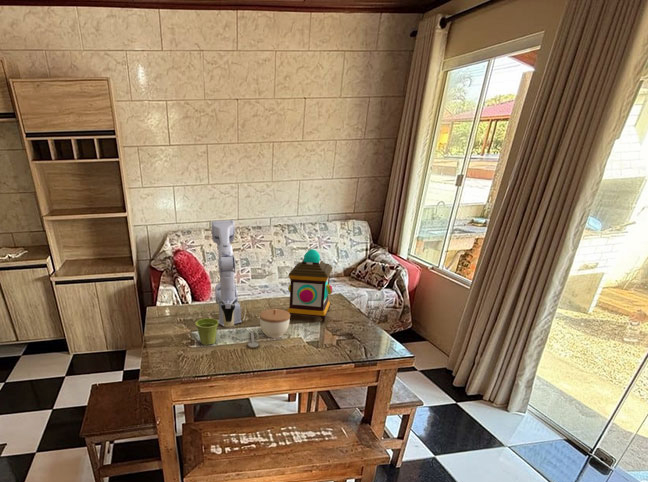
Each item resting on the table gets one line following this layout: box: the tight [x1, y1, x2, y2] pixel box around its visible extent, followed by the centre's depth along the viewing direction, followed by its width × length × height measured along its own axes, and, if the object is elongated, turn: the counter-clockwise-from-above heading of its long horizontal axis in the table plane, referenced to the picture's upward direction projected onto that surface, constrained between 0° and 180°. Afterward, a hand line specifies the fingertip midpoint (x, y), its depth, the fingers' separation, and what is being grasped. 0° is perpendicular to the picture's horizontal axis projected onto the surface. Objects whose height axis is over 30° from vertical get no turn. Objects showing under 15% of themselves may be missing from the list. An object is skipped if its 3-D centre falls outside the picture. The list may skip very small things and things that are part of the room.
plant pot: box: [194, 317, 219, 346], centre depth 165 cm, size 9×9×9 cm
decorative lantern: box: [286, 248, 334, 324], centre depth 183 cm, size 20×20×30 cm
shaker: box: [223, 303, 235, 328], centre depth 168 cm, size 5×5×9 cm
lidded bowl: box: [259, 308, 291, 339], centre depth 169 cm, size 13×13×11 cm
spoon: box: [247, 331, 260, 349], centre depth 167 cm, size 15×4×1 cm, turn 179°
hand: (228, 319), depth 169 cm, fingers closed on shaker, 4 cm apart
